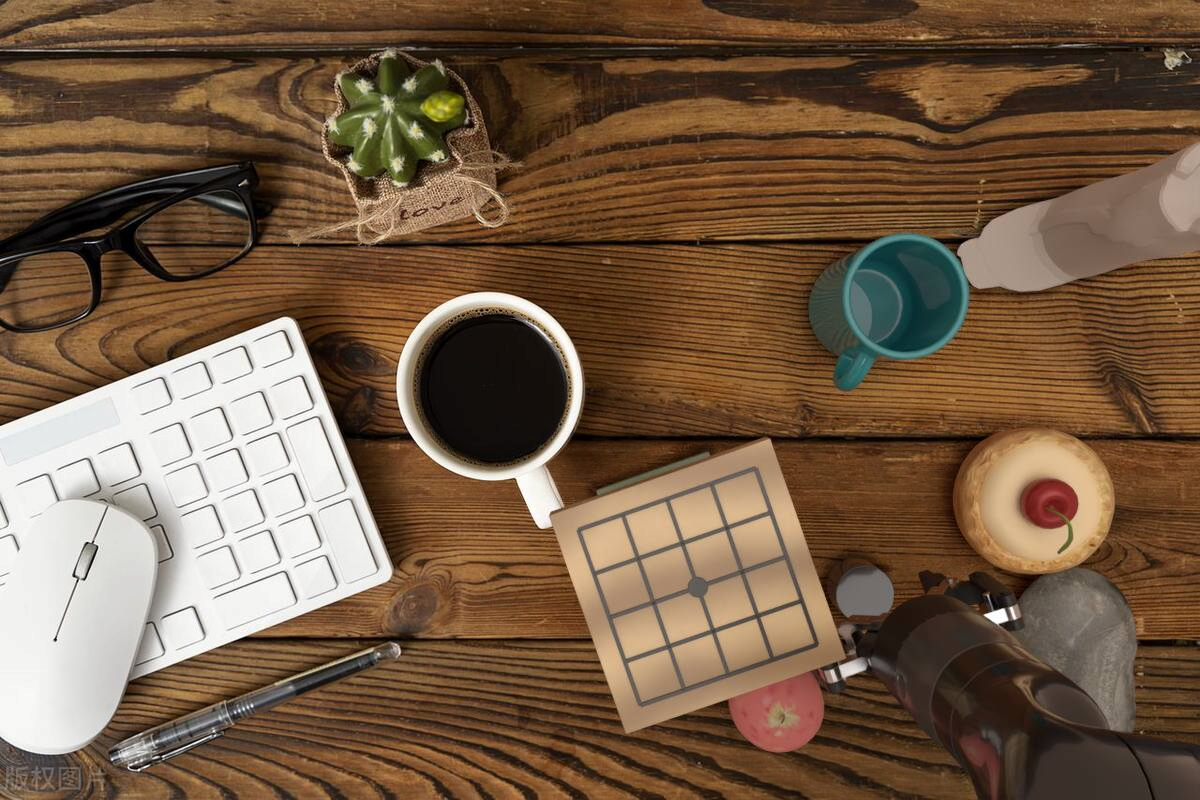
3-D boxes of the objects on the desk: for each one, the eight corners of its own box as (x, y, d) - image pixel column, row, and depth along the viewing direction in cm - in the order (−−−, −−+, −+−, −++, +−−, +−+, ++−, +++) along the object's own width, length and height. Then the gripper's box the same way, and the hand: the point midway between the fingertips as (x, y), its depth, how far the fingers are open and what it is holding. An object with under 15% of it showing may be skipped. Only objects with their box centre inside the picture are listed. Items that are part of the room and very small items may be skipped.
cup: (773, 366, 72) (804, 365, 61) (834, 237, 72) (876, 211, 61) (870, 411, 72) (918, 418, 61) (931, 282, 72) (991, 264, 61)
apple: (756, 744, 73) (775, 789, 65) (706, 674, 73) (718, 711, 65) (827, 693, 73) (854, 732, 65) (776, 624, 73) (797, 654, 65)
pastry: (1062, 408, 72) (1126, 412, 63) (1098, 542, 72) (1167, 565, 63) (924, 446, 72) (968, 456, 63) (960, 580, 73) (1010, 608, 64)
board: (776, 575, 73) (847, 659, 51) (620, 629, 73) (626, 735, 51) (722, 420, 72) (770, 438, 51) (566, 474, 73) (548, 515, 51)
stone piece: (890, 603, 73) (902, 612, 70) (836, 621, 73) (846, 632, 70) (872, 550, 73) (883, 557, 70) (818, 568, 73) (827, 576, 70)
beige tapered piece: (949, 228, 72) (1081, 170, 52) (1109, 181, 72) (1304, 105, 52) (972, 310, 72) (1113, 284, 52) (1132, 264, 72) (1335, 220, 52)
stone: (1002, 559, 72) (990, 723, 75) (1019, 577, 68) (1006, 749, 71) (1140, 563, 71) (1123, 730, 73) (1166, 582, 67) (1147, 757, 69)
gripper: (866, 775, 51) (803, 676, 67) (1096, 695, 50) (976, 615, 67) (825, 656, 50) (771, 586, 67) (1055, 576, 50) (945, 525, 66)
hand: (874, 601), depth 67 cm, fingers open, 8 cm apart
